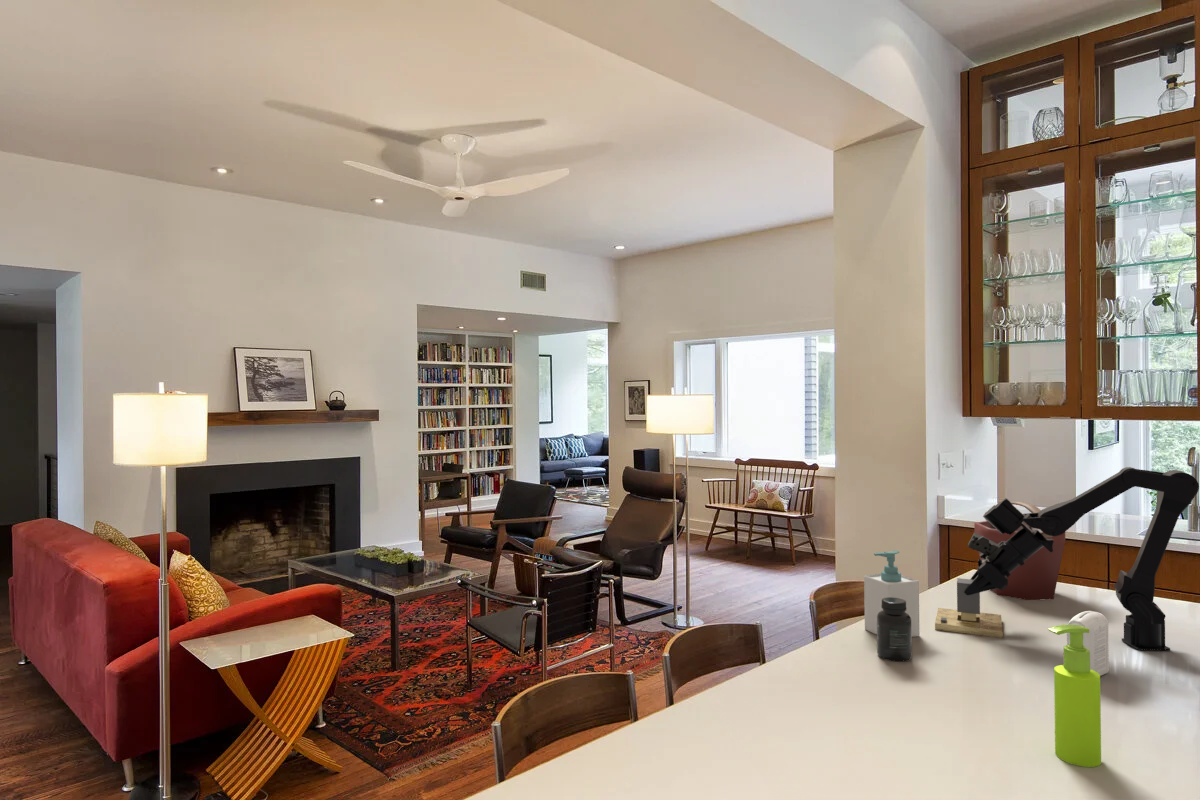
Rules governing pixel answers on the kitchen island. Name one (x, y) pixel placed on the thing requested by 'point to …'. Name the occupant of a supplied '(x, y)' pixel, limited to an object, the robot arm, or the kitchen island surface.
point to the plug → (967, 601)
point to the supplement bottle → (894, 631)
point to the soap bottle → (890, 593)
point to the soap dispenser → (1077, 702)
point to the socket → (969, 623)
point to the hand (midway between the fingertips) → (965, 591)
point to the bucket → (1028, 563)
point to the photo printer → (1094, 639)
